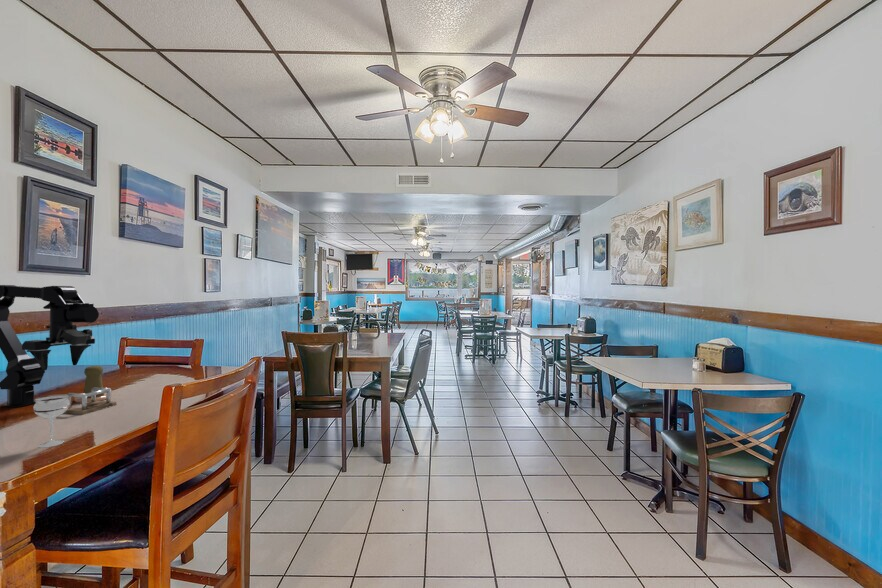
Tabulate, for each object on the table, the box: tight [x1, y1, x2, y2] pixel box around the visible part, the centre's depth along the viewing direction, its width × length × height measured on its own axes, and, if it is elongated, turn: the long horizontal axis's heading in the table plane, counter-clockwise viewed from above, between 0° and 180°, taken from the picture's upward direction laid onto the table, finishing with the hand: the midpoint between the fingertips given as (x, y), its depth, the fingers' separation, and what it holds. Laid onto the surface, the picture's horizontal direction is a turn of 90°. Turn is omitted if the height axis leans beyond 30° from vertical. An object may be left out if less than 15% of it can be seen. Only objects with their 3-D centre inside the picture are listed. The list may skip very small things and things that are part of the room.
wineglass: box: [32, 394, 70, 449], centre depth 101 cm, size 7×7×12 cm
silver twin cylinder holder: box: [66, 387, 112, 410], centre depth 130 cm, size 7×9×5 cm
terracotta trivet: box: [74, 393, 112, 404], centre depth 142 cm, size 10×10×1 cm
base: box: [63, 400, 117, 415], centre depth 130 cm, size 9×11×1 cm
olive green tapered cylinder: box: [82, 365, 104, 398], centre depth 142 cm, size 6×6×11 cm
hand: (60, 367), depth 133 cm, fingers open, 9 cm apart
